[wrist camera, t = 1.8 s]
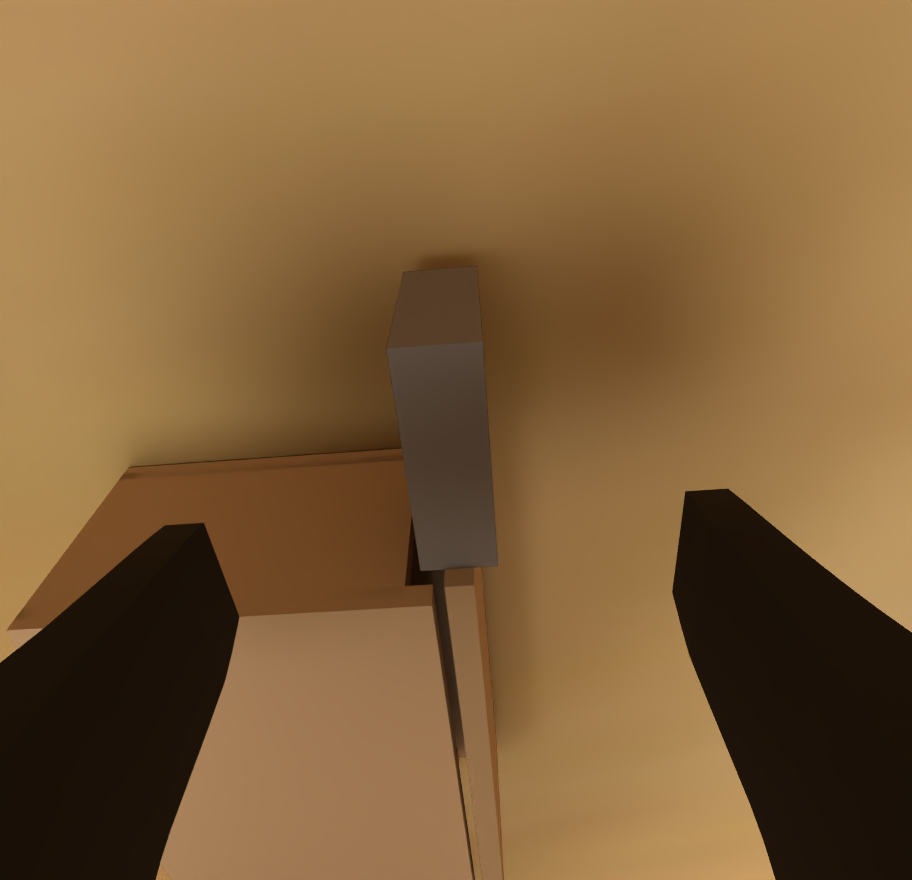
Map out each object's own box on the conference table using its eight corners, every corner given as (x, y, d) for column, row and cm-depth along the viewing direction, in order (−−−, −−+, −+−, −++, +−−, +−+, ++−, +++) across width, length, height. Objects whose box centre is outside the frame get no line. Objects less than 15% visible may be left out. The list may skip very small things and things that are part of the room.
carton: (473, 741, 26) (478, 916, 21) (250, 752, 26) (201, 926, 21) (439, 445, 18) (431, 605, 13) (128, 467, 19) (6, 630, 14)
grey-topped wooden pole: (509, 742, 25) (521, 908, 20) (468, 744, 25) (470, 909, 20) (475, 251, 15) (483, 354, 10) (406, 256, 15) (383, 361, 10)
